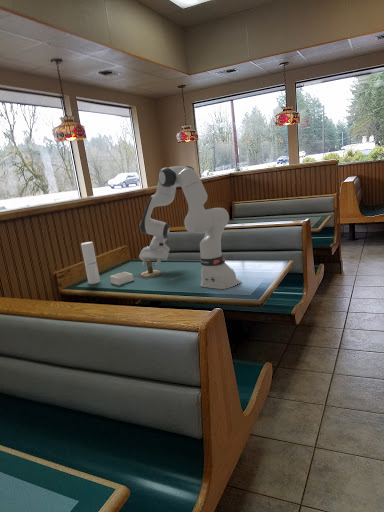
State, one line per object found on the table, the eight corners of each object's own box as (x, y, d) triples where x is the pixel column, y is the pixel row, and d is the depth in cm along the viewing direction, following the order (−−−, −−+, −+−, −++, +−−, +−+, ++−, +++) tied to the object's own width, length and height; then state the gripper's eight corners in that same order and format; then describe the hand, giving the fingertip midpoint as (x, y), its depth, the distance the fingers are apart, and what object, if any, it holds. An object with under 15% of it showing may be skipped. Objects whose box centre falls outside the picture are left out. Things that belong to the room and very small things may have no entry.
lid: (164, 273, 235) (162, 259, 233) (148, 278, 228) (145, 263, 226) (153, 270, 245) (151, 257, 243) (137, 275, 237) (135, 261, 235)
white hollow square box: (133, 280, 228) (132, 273, 227) (118, 285, 222) (117, 278, 221) (125, 278, 236) (124, 271, 235) (111, 283, 230) (109, 275, 229)
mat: (168, 273, 235) (168, 272, 235) (146, 280, 226) (146, 279, 225) (154, 270, 247) (154, 269, 247) (133, 276, 238) (133, 276, 238)
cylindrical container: (98, 283, 234) (90, 243, 228) (87, 284, 234) (79, 244, 228) (101, 279, 240) (94, 241, 235) (90, 281, 241) (82, 242, 235)
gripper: (141, 244, 244) (133, 262, 238) (167, 243, 233) (160, 263, 228) (146, 249, 249) (139, 267, 243) (172, 249, 238) (165, 268, 232)
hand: (149, 265), depth 235 cm, fingers open, 8 cm apart
